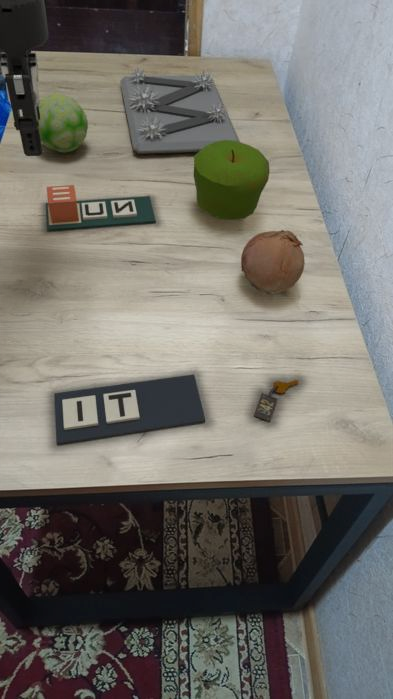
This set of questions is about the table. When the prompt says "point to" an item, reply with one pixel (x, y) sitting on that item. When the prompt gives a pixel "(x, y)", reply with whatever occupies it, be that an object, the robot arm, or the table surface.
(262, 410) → the key tag
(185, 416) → the near word mat
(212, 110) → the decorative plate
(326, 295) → the table surface
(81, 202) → the far word mat
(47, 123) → the decorative ball
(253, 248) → the onion
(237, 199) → the apple
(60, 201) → the red striped block
